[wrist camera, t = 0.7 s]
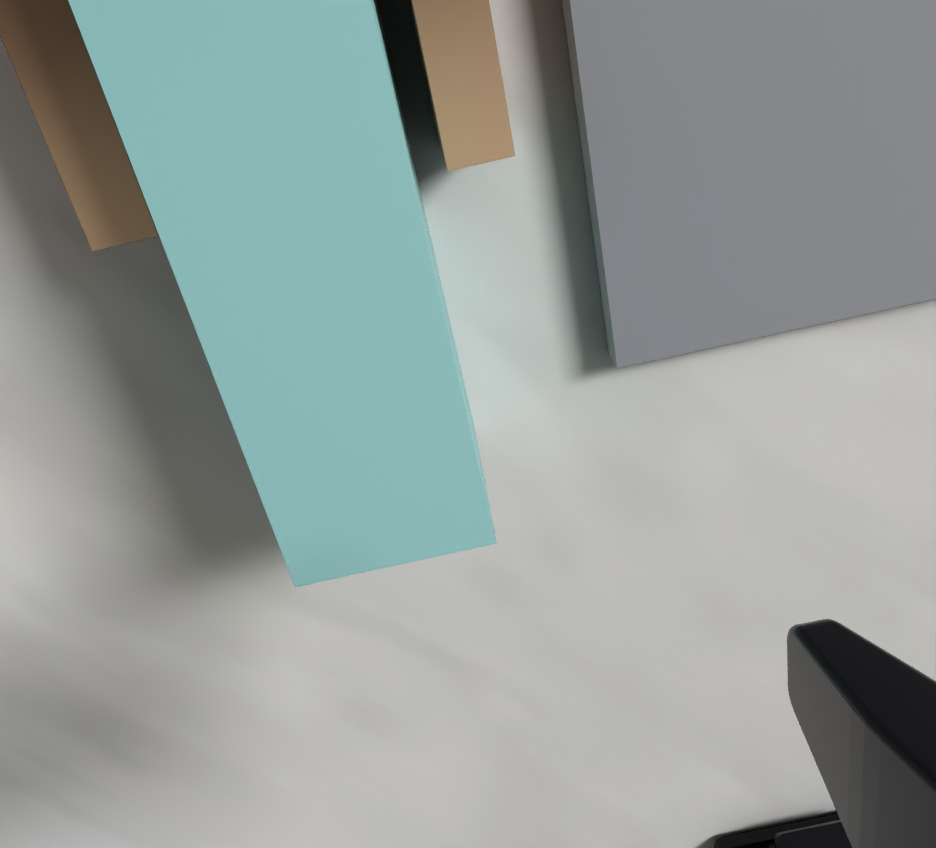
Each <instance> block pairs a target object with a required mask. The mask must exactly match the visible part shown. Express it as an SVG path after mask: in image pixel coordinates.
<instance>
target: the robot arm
mask: <svg viewBox="0 0 936 848" xmlns="http://www.w3.org/2000/svg"><path fill="white" fill-rule="evenodd" d="M787 661H788V691H789V696H790V700H791V703H792V707H793V709H794V712H795V714H796V717H797V719H798V721H799V724H800V726H801V729H802V731H803V733H804V736H805V738H806V740H807V743H808V745H809V747H810V750H811V752H812V754H813V757H814V759H815V761H816V764H817V766H818V768H819V771H820V773H821V775H822V778H823V780H824V783H825V785H826V787H827V790H828V792H829V794H830V797H831V799H832V801H833V804H834V806H835V808H836V811H837V813H838V814H834V815H829V816H825V817H820V818H815V819H810V820H805V821H800V822H795V823H790V824H786V825H781V826H776V827H771V828H766V829H761V830H756V831H752V832H747V833H742V834H737V835H732V836H727V837H724V838H721V839H720V840H718V841H717V842H716V843H715V844H714V848H936V681H934V680H933V679H931V678H929V677H928V676H926V675H925V674H923V673H921V672H920V671H918V670H916V669H915V668H913V667H911V666H910V665H908V664H906V663H905V662H903V661H901V660H900V659H898V658H896V657H895V656H893V655H891V654H890V653H888V652H886V651H885V650H883V649H881V648H880V647H878V646H877V645H875V644H873V643H872V642H870V641H868V640H867V639H865V638H863V637H862V636H860V635H858V634H857V633H855V632H853V631H852V630H850V629H848V628H847V627H845V626H843V625H842V624H840V623H838V622H836V621H834V620H830V619H823V620H818V621H813V622H808V623H803V624H798V625H795V626H793V627H791V628H790V629H789V632H788V636H787Z"/></svg>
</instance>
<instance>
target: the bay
mask: <svg viewBox="0 0 936 848" xmlns="http://www.w3.org/2000/svg"><path fill="white" fill-rule="evenodd" d="M409 3H410V8H411V12H412V17H413V22H414V27H415V31H416V36H417V41H418V46H419V50H420V55H421V60H422V65H423V69H424V74H425V79H426V84H427V88H428V93H429V98H430V102H431V107H432V112H433V117H434V121H435V126H436V131H437V136H438V140H439V145H440V148H441V151H442V155H443V158H444V161H445V164H446V167H447V171H451V170H455V169H460V168H464V167H469V166H473V165H477V164H482V163H486V162H491V161H495V160H500V159H504V158H508V157H513V156H515V152H514V146H513V141H512V135H511V129H510V123H509V117H508V111H507V105H506V99H505V94H504V88H503V82H502V76H501V70H500V64H499V58H498V53H497V47H496V41H495V35H494V29H493V23H492V17H491V11H490V6H489V0H409ZM0 36H1V38H2V41H3V43H4V45H5V48H6V50H7V52H8V55H9V57H10V60H11V62H12V64H13V67H14V69H15V71H16V74H17V76H18V78H19V81H20V83H21V85H22V88H23V90H24V92H25V95H26V97H27V99H28V102H29V104H30V106H31V109H32V111H33V113H34V116H35V118H36V120H37V123H38V125H39V128H40V130H41V132H42V135H43V137H44V139H45V142H46V144H47V146H48V149H49V151H50V153H51V156H52V158H53V160H54V163H55V165H56V167H57V170H58V172H59V174H60V177H61V179H62V181H63V184H64V186H65V188H66V191H67V193H68V195H69V198H70V200H71V203H72V205H73V207H74V210H75V212H76V214H77V217H78V219H79V221H80V224H81V226H82V228H83V231H84V233H85V235H86V238H87V240H88V242H89V245H90V247H91V249H92V251H96V250H101V249H105V248H110V247H114V246H118V245H123V244H127V243H132V242H136V241H141V240H145V239H149V238H154V237H158V236H159V234H158V231H157V229H156V226H155V224H154V221H153V218H152V216H151V213H150V211H149V208H148V206H147V203H146V200H145V198H144V195H143V193H142V190H141V187H140V185H139V182H138V180H137V177H136V174H135V172H134V169H133V167H132V164H131V162H130V159H129V156H128V154H127V151H126V149H125V146H124V143H123V141H122V138H121V136H120V133H119V131H118V128H117V125H116V123H115V120H114V118H113V115H112V112H111V110H110V107H109V105H108V102H107V99H106V97H105V94H104V92H103V89H102V87H101V84H100V81H99V79H98V76H97V74H96V71H95V68H94V66H93V63H92V61H91V58H90V55H89V53H88V50H87V48H86V45H85V43H84V40H83V37H82V35H81V32H80V30H79V27H78V24H77V22H76V19H75V17H74V14H73V11H72V9H71V6H70V4H69V1H68V0H0Z"/></svg>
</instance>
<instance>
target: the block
mask: <svg viewBox="0 0 936 848" xmlns="http://www.w3.org/2000/svg"><path fill="white" fill-rule="evenodd" d="M68 1H69V4H70V6H71V9H72V11H73V14H74V17H75V19H76V22H77V24H78V27H79V30H80V32H81V35H82V37H83V40H84V43H85V45H86V48H87V50H88V53H89V55H90V58H91V61H92V63H93V66H94V68H95V71H96V74H97V76H98V79H99V81H100V84H101V87H102V89H103V92H104V94H105V97H106V99H107V102H108V105H109V107H110V110H111V112H112V115H113V118H114V120H115V123H116V125H117V128H118V131H119V133H120V136H121V138H122V141H123V143H124V146H125V149H126V151H127V154H128V156H129V159H130V162H131V164H132V167H133V169H134V172H135V174H136V177H137V180H138V182H139V185H140V187H141V190H142V193H143V195H144V198H145V200H146V203H147V206H148V208H149V211H150V213H151V216H152V218H153V221H154V224H155V226H156V229H157V231H158V234H159V237H160V239H161V242H162V244H163V247H164V250H165V252H166V255H167V257H168V260H169V262H170V265H171V268H172V270H173V273H174V275H175V278H176V281H177V283H178V286H179V288H180V291H181V294H182V296H183V299H184V301H185V304H186V306H187V309H188V312H189V314H190V317H191V319H192V322H193V325H194V327H195V330H196V332H197V335H198V338H199V340H200V343H201V345H202V348H203V350H204V353H205V356H206V358H207V361H208V363H209V366H210V369H211V371H212V374H213V376H214V379H215V382H216V384H217V387H218V389H219V392H220V394H221V397H222V400H223V402H224V405H225V407H226V410H227V413H228V415H229V418H230V420H231V423H232V426H233V428H234V431H235V433H236V436H237V438H238V441H239V444H240V446H241V449H242V451H243V454H244V457H245V459H246V462H247V464H248V467H249V470H250V472H251V475H252V477H253V480H254V482H255V485H256V488H257V490H258V493H259V495H260V498H261V501H262V503H263V506H264V508H265V511H266V514H267V516H268V519H269V521H270V524H271V526H272V529H273V532H274V534H275V537H276V539H277V542H278V545H279V547H280V550H281V552H282V555H283V558H284V560H285V563H286V565H287V568H288V570H289V573H290V576H291V578H292V581H293V583H294V586H295V587H299V586H303V585H308V584H312V583H317V582H321V581H326V580H331V579H335V578H340V577H344V576H349V575H353V574H358V573H363V572H367V571H372V570H376V569H381V568H386V567H390V566H395V565H399V564H404V563H408V562H413V561H418V560H422V559H427V558H431V557H436V556H441V555H445V554H450V553H454V552H459V551H463V550H468V549H473V548H477V547H482V546H486V545H491V544H496V543H497V542H496V537H495V532H494V527H493V521H492V516H491V511H490V506H489V500H488V495H487V490H486V485H485V480H484V474H483V469H482V464H481V459H480V454H479V448H478V443H477V438H476V433H475V428H474V423H473V419H472V415H471V410H470V406H469V402H468V397H467V393H466V389H465V384H464V380H463V376H462V371H461V367H460V363H459V358H458V354H457V349H456V345H455V341H454V336H453V332H452V328H451V323H450V319H449V315H448V310H447V306H446V302H445V297H444V293H443V289H442V284H441V280H440V275H439V271H438V267H437V262H436V258H435V254H434V249H433V245H432V241H431V236H430V232H429V228H428V223H427V219H426V215H425V210H424V206H423V202H422V197H421V193H420V188H419V184H418V180H417V175H416V171H415V167H414V162H413V158H412V154H411V149H410V145H409V141H408V136H407V132H406V128H405V123H404V119H403V114H402V110H401V106H400V101H399V97H398V93H397V88H396V84H395V80H394V75H393V71H392V67H391V62H390V58H389V54H388V49H387V45H386V41H385V36H384V32H383V27H382V23H381V19H380V14H379V10H378V6H377V1H376V0H68Z"/></svg>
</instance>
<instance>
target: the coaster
mask: <svg viewBox="0 0 936 848" xmlns="http://www.w3.org/2000/svg"><path fill="white" fill-rule="evenodd" d="M562 4H563V12H564V19H565V27H566V34H567V42H568V49H569V57H570V64H571V72H572V79H573V87H574V94H575V102H576V109H577V117H578V124H579V132H580V139H581V147H582V154H583V162H584V169H585V177H586V184H587V192H588V200H589V207H590V215H591V222H592V230H593V237H594V245H595V252H596V260H597V267H598V275H599V282H600V290H601V297H602V305H603V312H604V320H605V327H606V335H607V342H608V350H609V356H610V357H611V359H612V361H613V362H614V364H615V365H616V367H617V368H622V367H627V366H631V365H636V364H640V363H645V362H649V361H654V360H658V359H663V358H668V357H672V356H677V355H681V354H686V353H690V352H695V351H700V350H704V349H709V348H713V347H718V346H722V345H727V344H732V343H736V342H741V341H745V340H750V339H754V338H759V337H763V336H768V335H773V334H777V333H782V332H786V331H791V330H795V329H800V328H805V327H809V326H814V325H818V324H823V323H827V322H832V321H836V320H841V319H846V318H850V317H855V316H859V315H864V314H868V313H873V312H878V311H882V310H887V309H891V308H896V307H900V306H905V305H910V304H914V303H919V302H923V301H928V300H932V299H936V0H562Z"/></svg>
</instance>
